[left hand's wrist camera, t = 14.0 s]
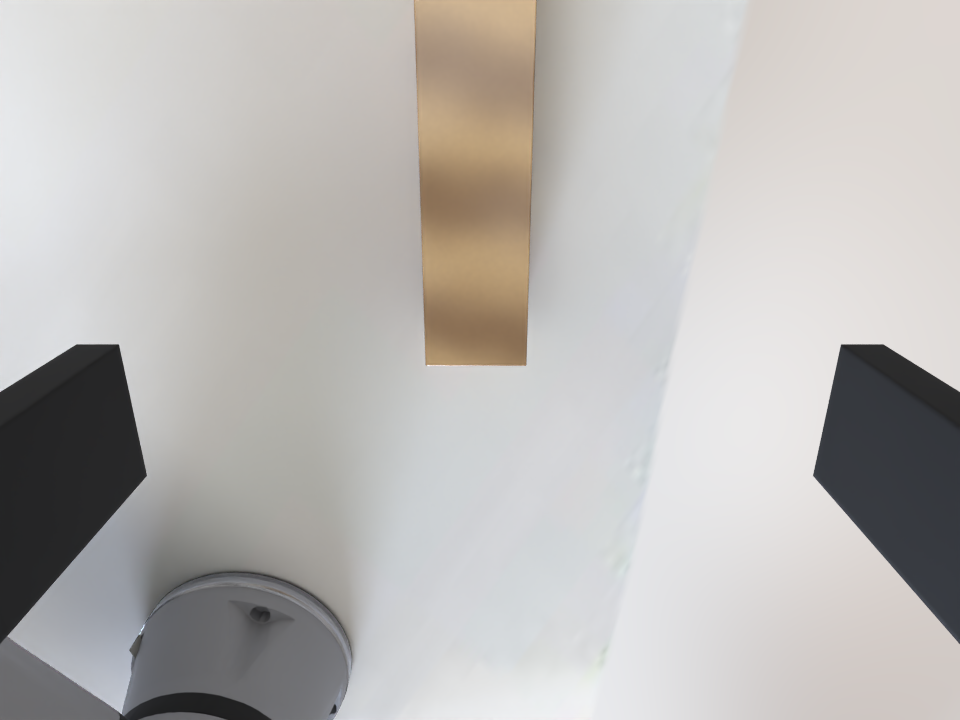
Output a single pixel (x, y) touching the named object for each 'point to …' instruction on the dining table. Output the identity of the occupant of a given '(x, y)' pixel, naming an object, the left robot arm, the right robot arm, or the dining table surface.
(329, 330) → the dining table surface
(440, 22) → the beam
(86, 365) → the left robot arm
